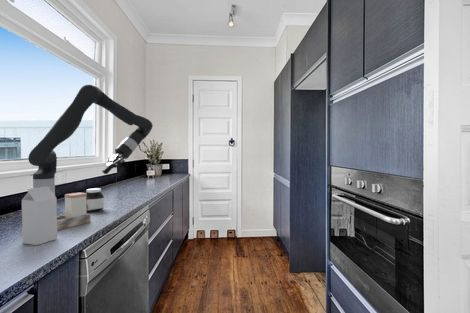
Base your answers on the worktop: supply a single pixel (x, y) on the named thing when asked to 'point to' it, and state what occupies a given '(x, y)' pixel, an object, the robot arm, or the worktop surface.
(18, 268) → the worktop surface
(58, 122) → the robot arm
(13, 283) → the worktop surface
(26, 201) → the milk carton
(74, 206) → the pink-topped white box
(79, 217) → the track
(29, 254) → the worktop surface
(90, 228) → the worktop surface
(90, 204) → the spread jar
